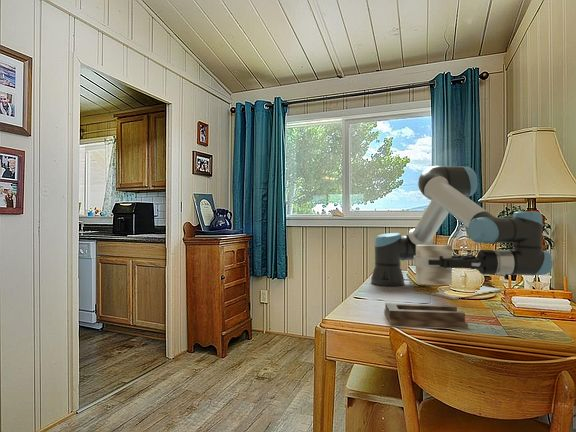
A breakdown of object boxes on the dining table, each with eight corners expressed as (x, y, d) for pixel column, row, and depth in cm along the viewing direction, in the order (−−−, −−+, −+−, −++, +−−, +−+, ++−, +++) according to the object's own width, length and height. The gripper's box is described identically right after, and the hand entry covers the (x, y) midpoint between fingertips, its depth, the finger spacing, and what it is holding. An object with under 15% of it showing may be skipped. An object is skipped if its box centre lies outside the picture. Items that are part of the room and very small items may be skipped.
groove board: (452, 314, 123) (452, 303, 123) (467, 328, 109) (467, 315, 109) (384, 312, 126) (384, 301, 126) (390, 325, 112) (390, 312, 112)
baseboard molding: (427, 295, 155) (453, 301, 144) (428, 288, 154) (453, 294, 144) (475, 287, 170) (501, 292, 159) (475, 281, 170) (501, 286, 159)
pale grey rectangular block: (448, 282, 119) (448, 245, 118) (451, 284, 115) (451, 246, 115) (415, 282, 120) (415, 244, 120) (418, 284, 116) (418, 245, 116)
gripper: (506, 279, 107) (421, 277, 110) (482, 270, 124) (409, 268, 126) (506, 252, 107) (421, 251, 110) (483, 247, 123) (409, 246, 126)
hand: (415, 260), depth 118 cm, fingers closed on pale grey rectangular block, 3 cm apart
